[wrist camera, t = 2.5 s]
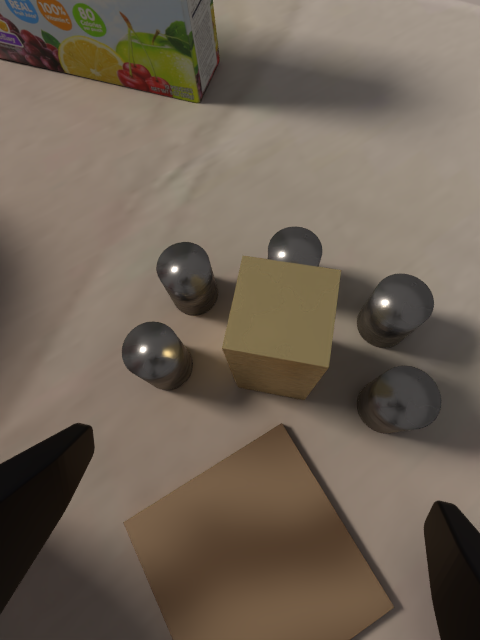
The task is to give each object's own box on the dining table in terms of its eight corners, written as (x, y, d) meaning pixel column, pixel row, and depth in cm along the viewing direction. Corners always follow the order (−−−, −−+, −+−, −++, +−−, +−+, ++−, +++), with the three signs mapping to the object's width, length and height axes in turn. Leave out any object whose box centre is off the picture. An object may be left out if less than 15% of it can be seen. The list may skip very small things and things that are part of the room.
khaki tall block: (304, 400, 22) (328, 367, 14) (238, 387, 23) (222, 348, 14) (313, 336, 23) (341, 270, 15) (250, 325, 24) (242, 255, 16)
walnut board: (390, 603, 19) (394, 607, 18) (215, 730, 17) (214, 737, 17) (281, 423, 22) (281, 423, 21) (126, 520, 21) (123, 522, 20)
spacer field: (409, 438, 21) (440, 435, 17) (139, 384, 23) (114, 371, 19) (417, 278, 24) (445, 246, 21) (179, 243, 26) (165, 208, 22)
